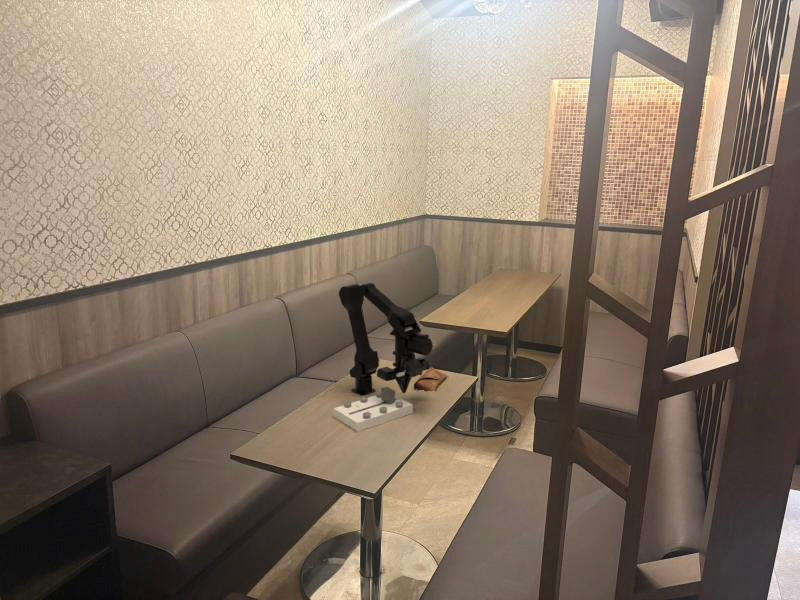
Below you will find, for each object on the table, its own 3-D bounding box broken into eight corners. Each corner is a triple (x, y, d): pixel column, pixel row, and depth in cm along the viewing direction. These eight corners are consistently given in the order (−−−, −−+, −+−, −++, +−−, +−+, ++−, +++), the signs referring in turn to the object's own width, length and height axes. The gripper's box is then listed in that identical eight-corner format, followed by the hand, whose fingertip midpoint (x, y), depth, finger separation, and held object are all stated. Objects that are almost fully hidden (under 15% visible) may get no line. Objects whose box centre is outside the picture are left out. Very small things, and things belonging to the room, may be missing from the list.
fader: (381, 399, 198) (381, 388, 197) (387, 397, 199) (386, 386, 198) (389, 403, 194) (388, 392, 193) (394, 401, 196) (394, 390, 195)
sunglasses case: (435, 392, 212) (426, 376, 211) (419, 399, 214) (411, 383, 214) (449, 375, 228) (441, 360, 228) (434, 382, 231) (426, 367, 231)
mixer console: (334, 416, 193) (333, 404, 192) (387, 399, 206) (387, 388, 205) (357, 431, 182) (357, 419, 181) (412, 412, 195) (412, 401, 194)
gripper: (396, 361, 185) (396, 407, 189) (440, 349, 196) (440, 393, 200) (375, 352, 194) (376, 396, 197) (419, 341, 205) (419, 383, 208)
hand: (403, 392), depth 200 cm, fingers closed
